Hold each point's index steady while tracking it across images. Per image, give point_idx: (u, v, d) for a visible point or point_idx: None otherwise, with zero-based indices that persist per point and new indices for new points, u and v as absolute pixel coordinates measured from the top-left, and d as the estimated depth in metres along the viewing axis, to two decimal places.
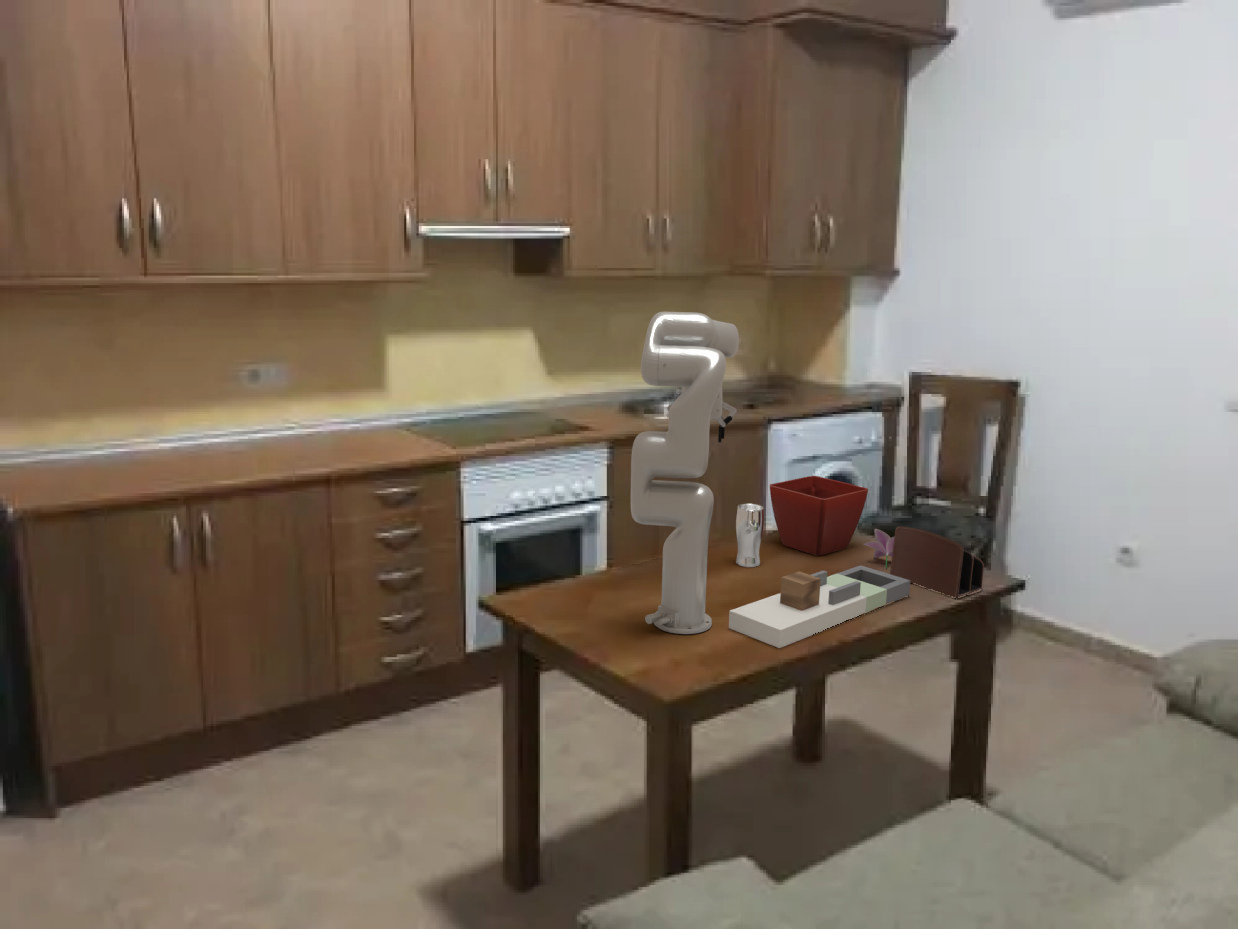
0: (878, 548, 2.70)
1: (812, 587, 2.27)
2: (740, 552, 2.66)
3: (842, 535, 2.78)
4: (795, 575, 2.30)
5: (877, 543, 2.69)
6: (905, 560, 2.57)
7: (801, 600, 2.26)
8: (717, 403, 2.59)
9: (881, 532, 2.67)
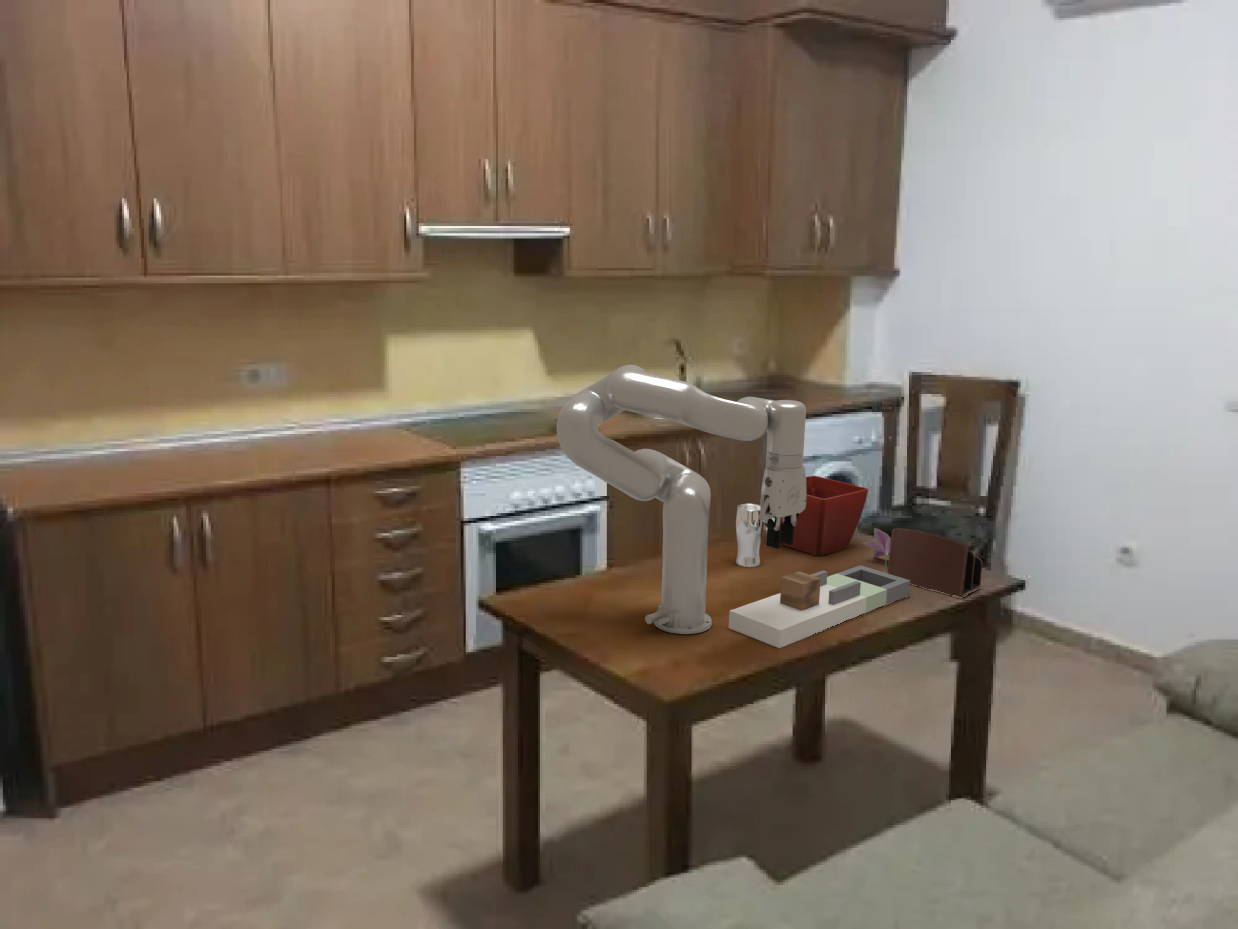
0: (877, 548, 2.71)
1: (812, 587, 2.27)
2: (740, 552, 2.66)
3: (842, 535, 2.78)
4: (795, 575, 2.30)
5: (876, 543, 2.70)
6: (903, 562, 2.56)
7: (801, 600, 2.26)
8: (804, 492, 2.19)
9: (881, 532, 2.67)
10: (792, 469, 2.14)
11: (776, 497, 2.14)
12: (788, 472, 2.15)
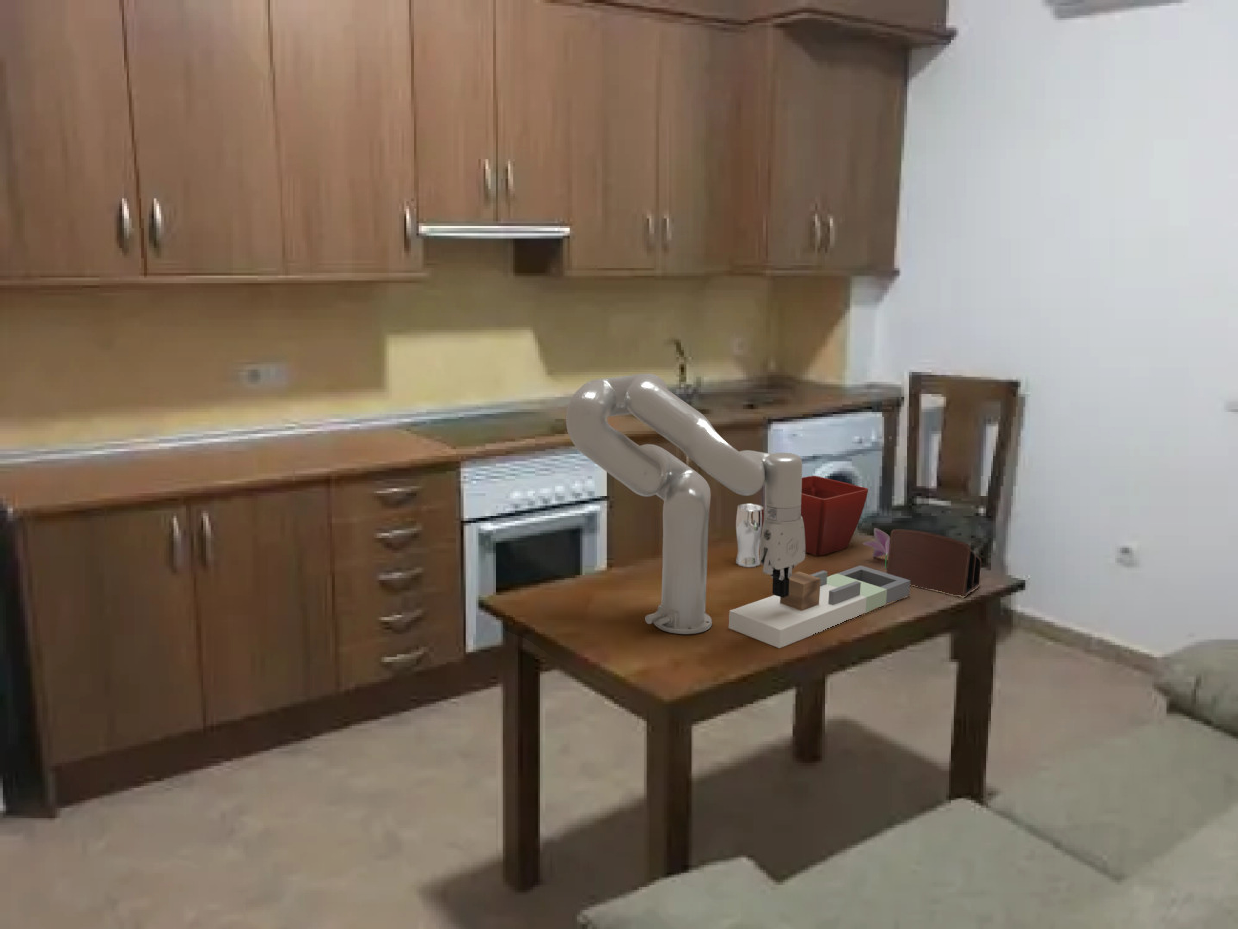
0: (877, 547, 2.71)
1: (812, 587, 2.27)
2: (740, 552, 2.66)
3: (842, 535, 2.78)
4: (795, 575, 2.30)
5: (876, 542, 2.70)
6: (903, 563, 2.55)
7: (801, 600, 2.26)
8: (803, 543, 2.22)
9: (880, 531, 2.67)
10: (790, 522, 2.16)
11: (775, 550, 2.16)
12: (787, 524, 2.17)
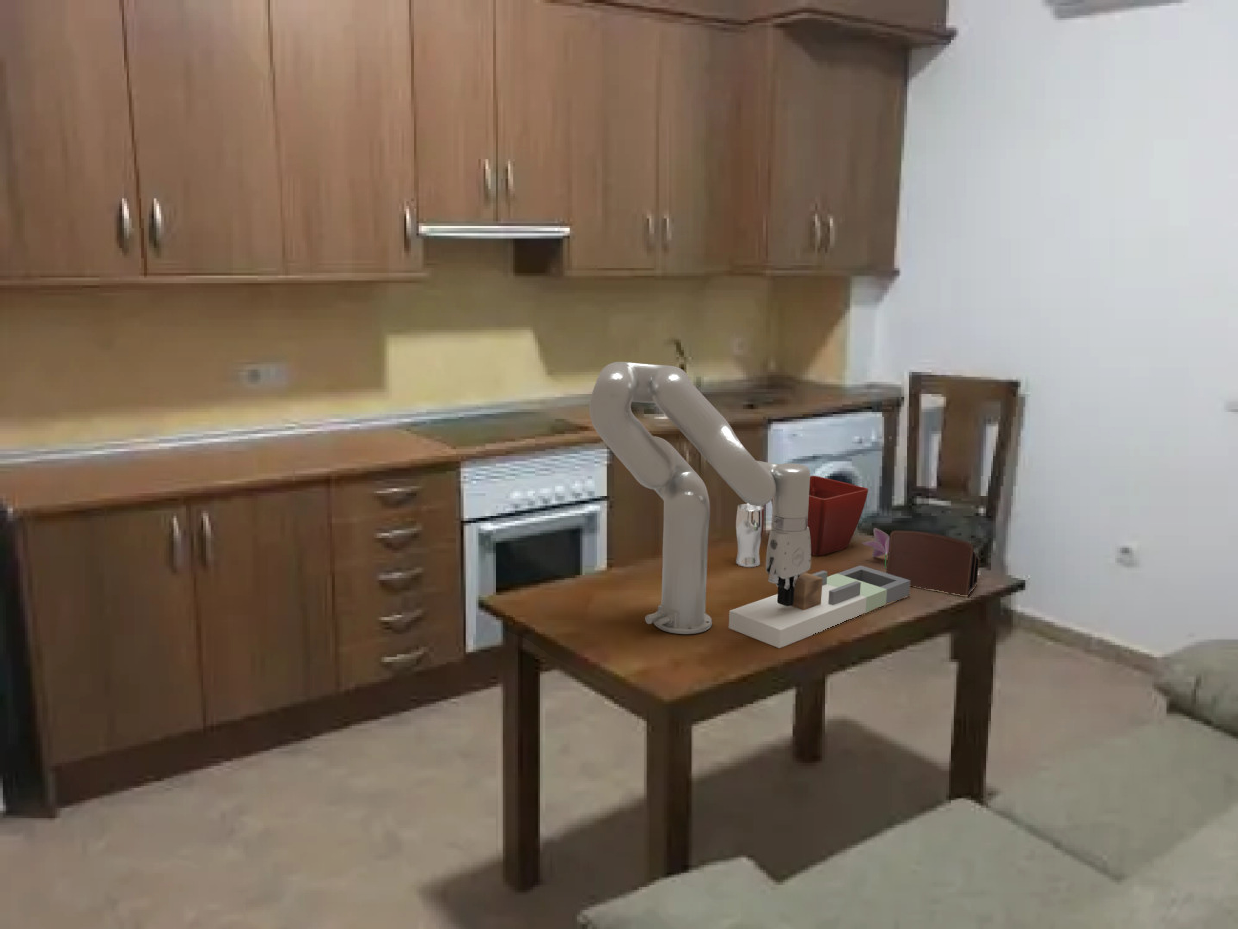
0: (877, 547, 2.71)
1: (814, 587, 2.27)
2: (740, 552, 2.66)
3: (842, 535, 2.78)
4: None
5: (876, 542, 2.70)
6: (904, 564, 2.54)
7: (803, 600, 2.26)
8: (809, 553, 2.24)
9: (880, 531, 2.68)
10: (797, 532, 2.19)
11: (781, 559, 2.19)
12: (793, 534, 2.19)
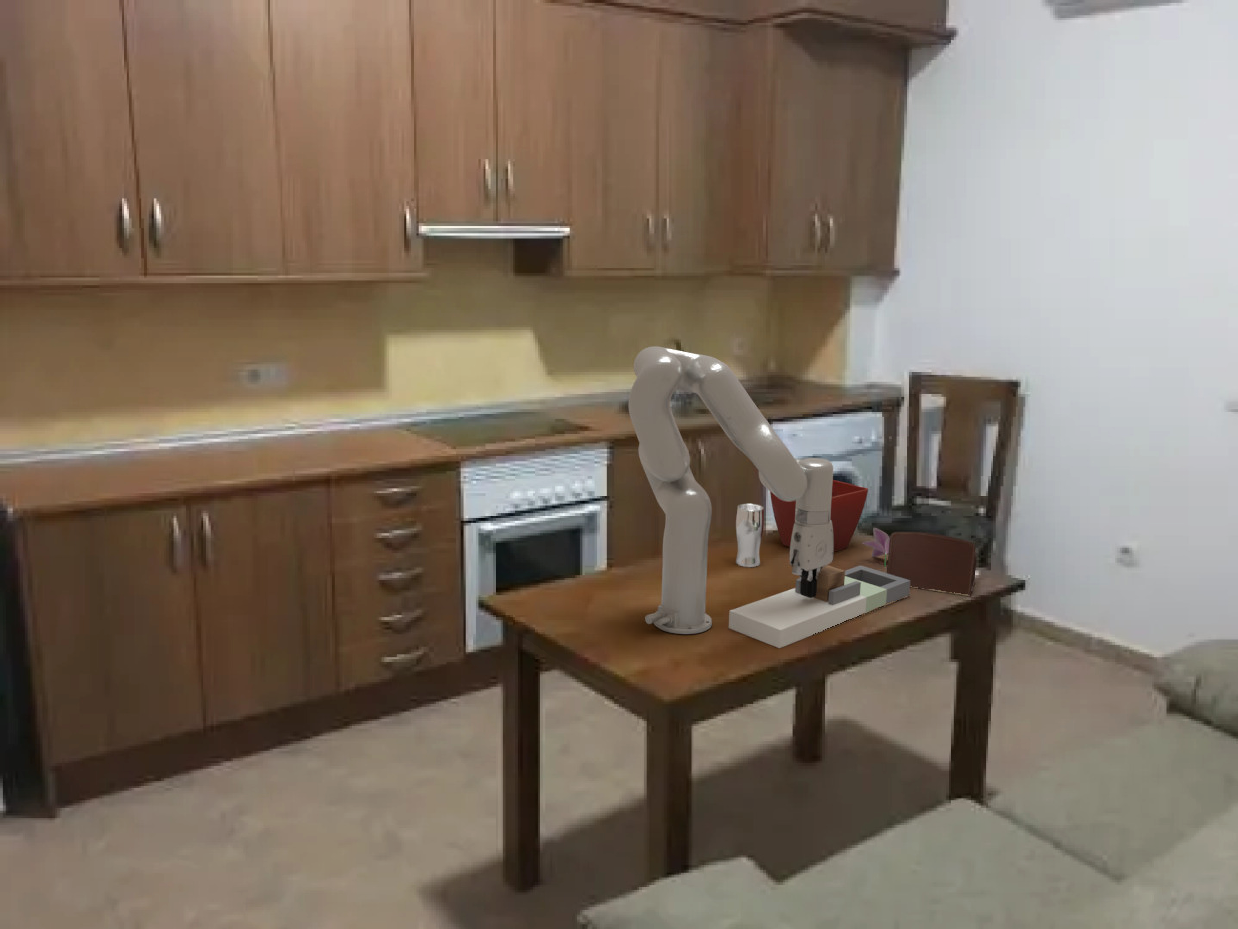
0: (877, 547, 2.71)
1: (837, 579, 2.33)
2: (740, 552, 2.66)
3: (842, 535, 2.78)
4: None
5: (876, 542, 2.70)
6: (905, 565, 2.53)
7: (826, 592, 2.31)
8: (831, 546, 2.29)
9: (880, 531, 2.68)
10: (820, 525, 2.24)
11: (805, 551, 2.24)
12: (817, 527, 2.25)
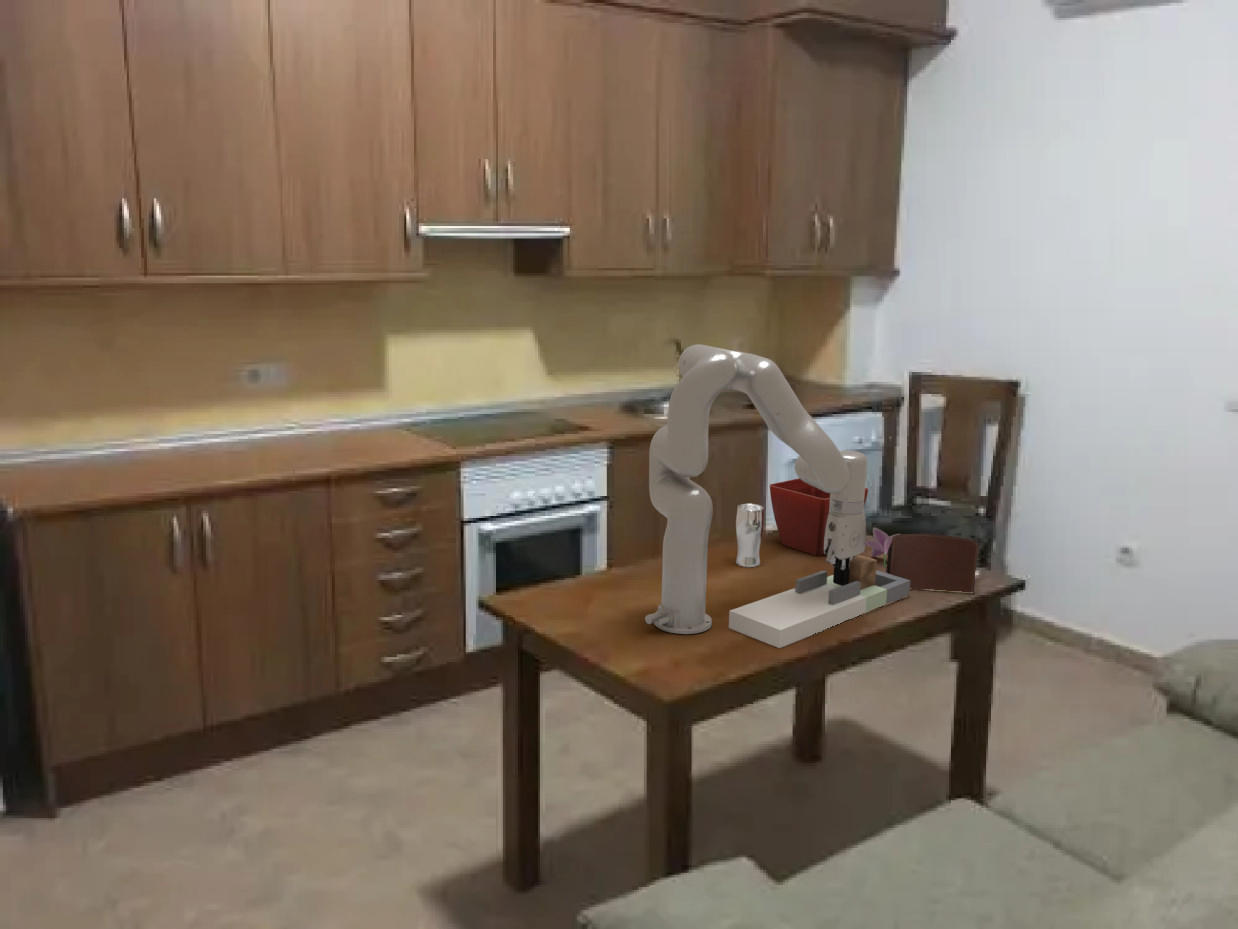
0: (876, 547, 2.71)
1: (870, 568, 2.40)
2: (740, 552, 2.66)
3: None
4: None
5: (875, 542, 2.70)
6: (907, 568, 2.51)
7: (859, 580, 2.39)
8: (864, 535, 2.37)
9: (879, 531, 2.68)
10: (854, 515, 2.32)
11: (839, 541, 2.32)
12: (851, 517, 2.33)
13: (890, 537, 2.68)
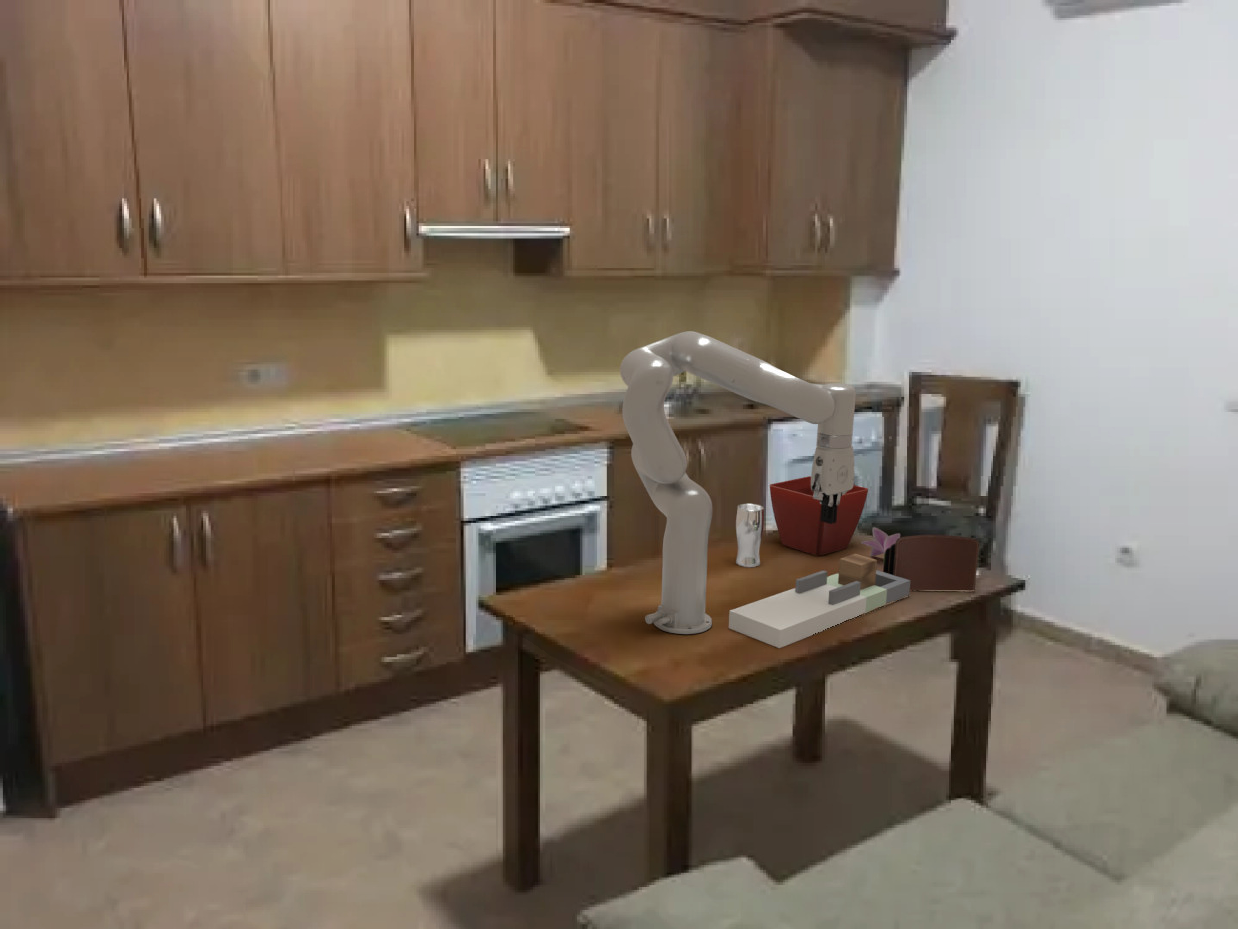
0: (875, 547, 2.71)
1: (869, 568, 2.40)
2: (740, 552, 2.66)
3: (842, 535, 2.78)
4: (852, 557, 2.43)
5: (875, 542, 2.70)
6: (911, 570, 2.50)
7: (859, 580, 2.39)
8: (852, 472, 2.30)
9: (879, 531, 2.68)
10: (842, 449, 2.25)
11: (827, 475, 2.25)
12: (838, 451, 2.25)
13: (890, 537, 2.68)
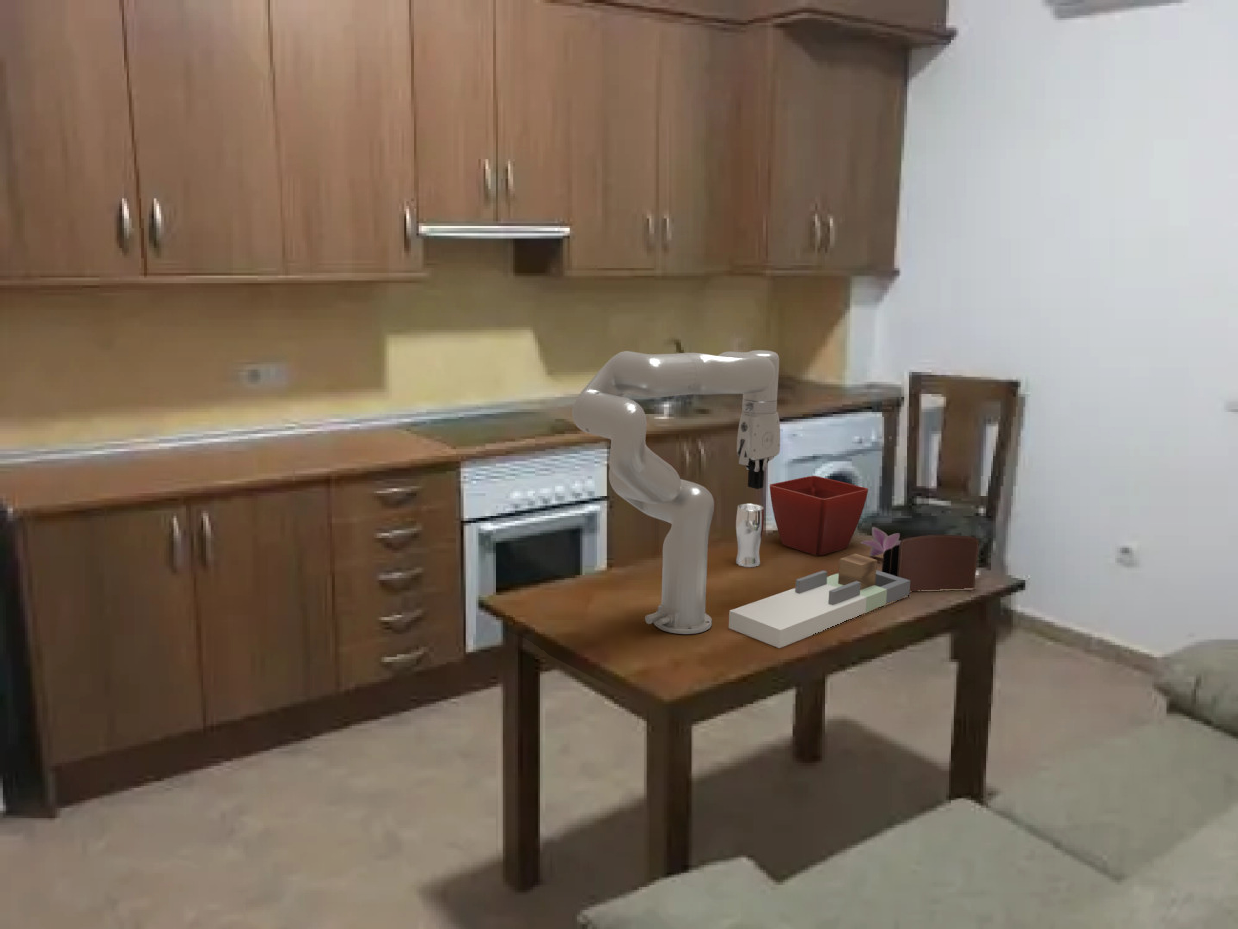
0: (875, 546, 2.72)
1: (869, 568, 2.40)
2: (740, 552, 2.66)
3: (842, 535, 2.78)
4: (852, 557, 2.43)
5: (874, 541, 2.71)
6: (915, 571, 2.49)
7: (859, 580, 2.39)
8: (778, 437, 2.34)
9: (878, 530, 2.68)
10: (766, 414, 2.29)
11: (751, 440, 2.29)
12: (763, 417, 2.29)
13: (889, 536, 2.68)
